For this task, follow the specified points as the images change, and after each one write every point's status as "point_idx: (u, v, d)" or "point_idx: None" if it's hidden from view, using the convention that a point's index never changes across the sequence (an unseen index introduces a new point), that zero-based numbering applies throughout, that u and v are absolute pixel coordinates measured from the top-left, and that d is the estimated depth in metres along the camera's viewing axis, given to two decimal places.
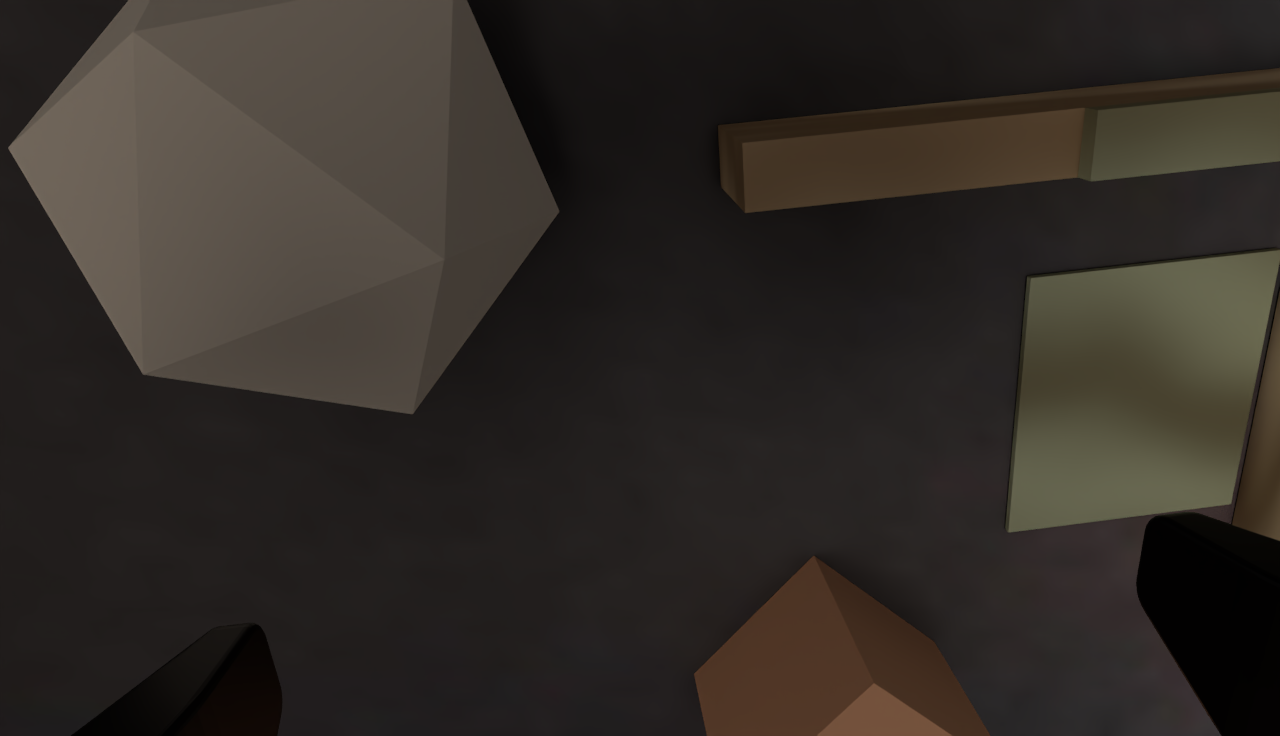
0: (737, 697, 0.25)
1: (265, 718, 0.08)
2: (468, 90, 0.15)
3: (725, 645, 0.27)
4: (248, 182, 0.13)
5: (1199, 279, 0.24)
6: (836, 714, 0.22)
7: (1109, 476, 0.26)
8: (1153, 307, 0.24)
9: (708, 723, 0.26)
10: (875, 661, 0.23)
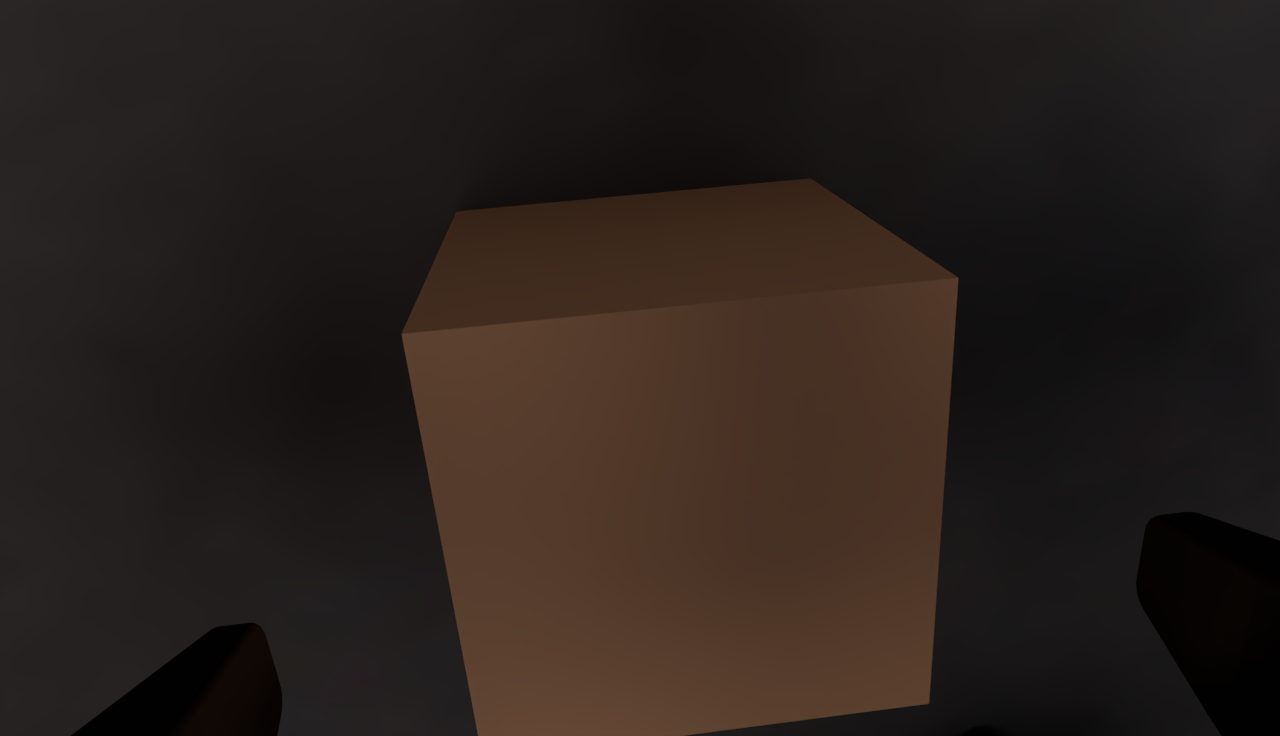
0: None
1: (265, 718, 0.08)
2: None
3: None
4: None
5: None
6: (425, 448, 0.09)
7: None
8: None
9: None
10: (478, 289, 0.10)
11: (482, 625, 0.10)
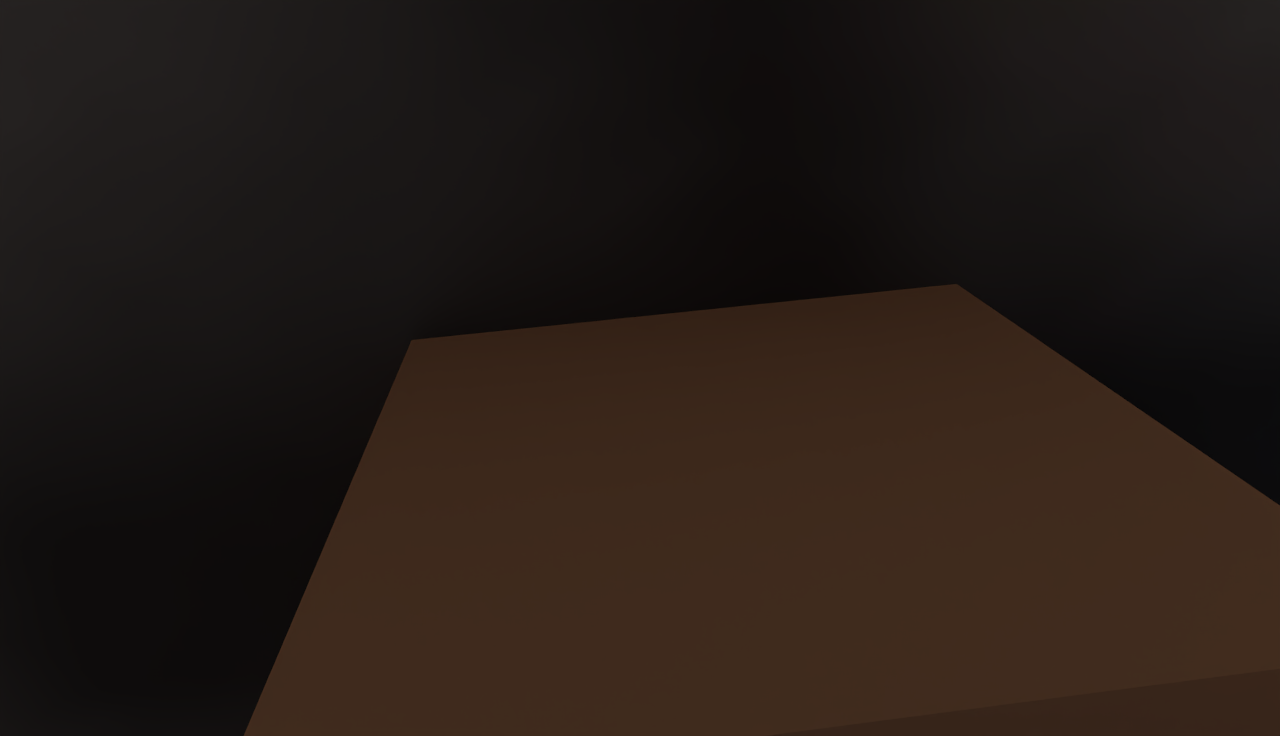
0: None
1: None
2: None
3: None
4: None
5: None
6: None
7: None
8: None
9: None
10: (416, 600, 0.05)
11: None
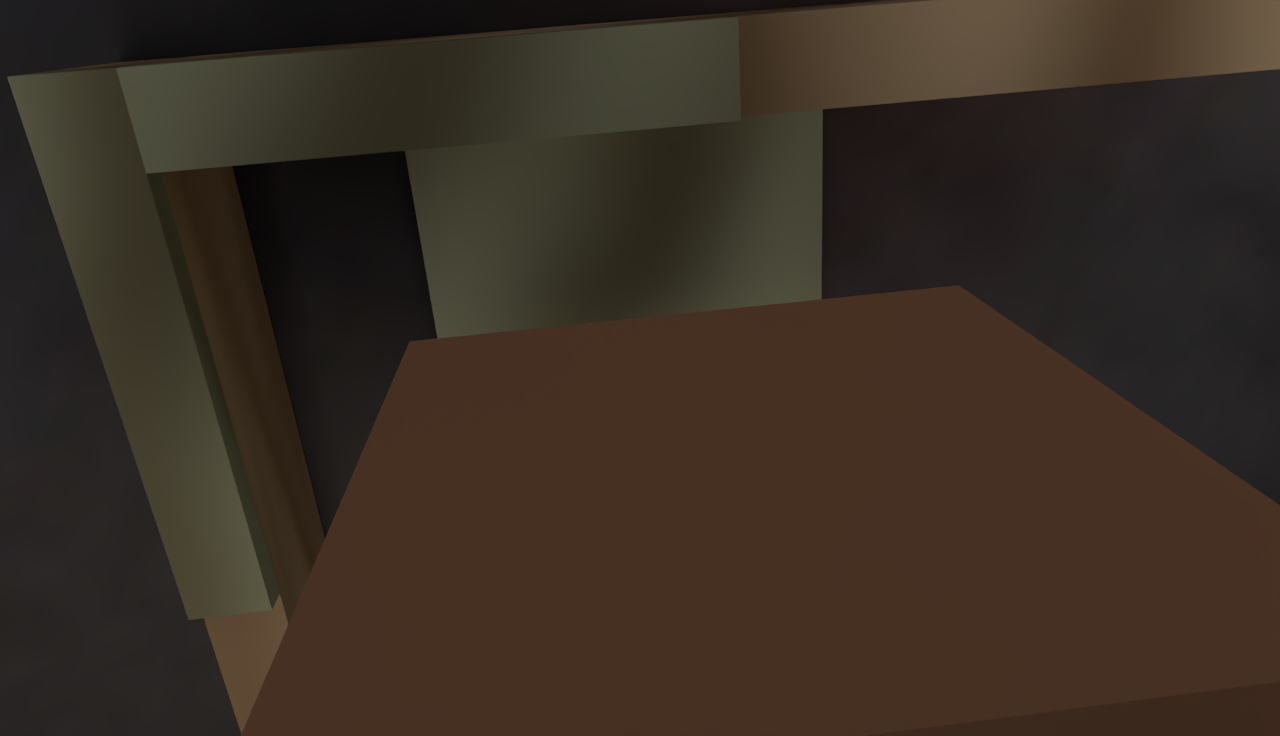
0: None
1: None
2: None
3: None
4: None
5: (453, 258, 0.17)
6: None
7: None
8: (495, 311, 0.18)
9: None
10: (412, 608, 0.05)
11: None
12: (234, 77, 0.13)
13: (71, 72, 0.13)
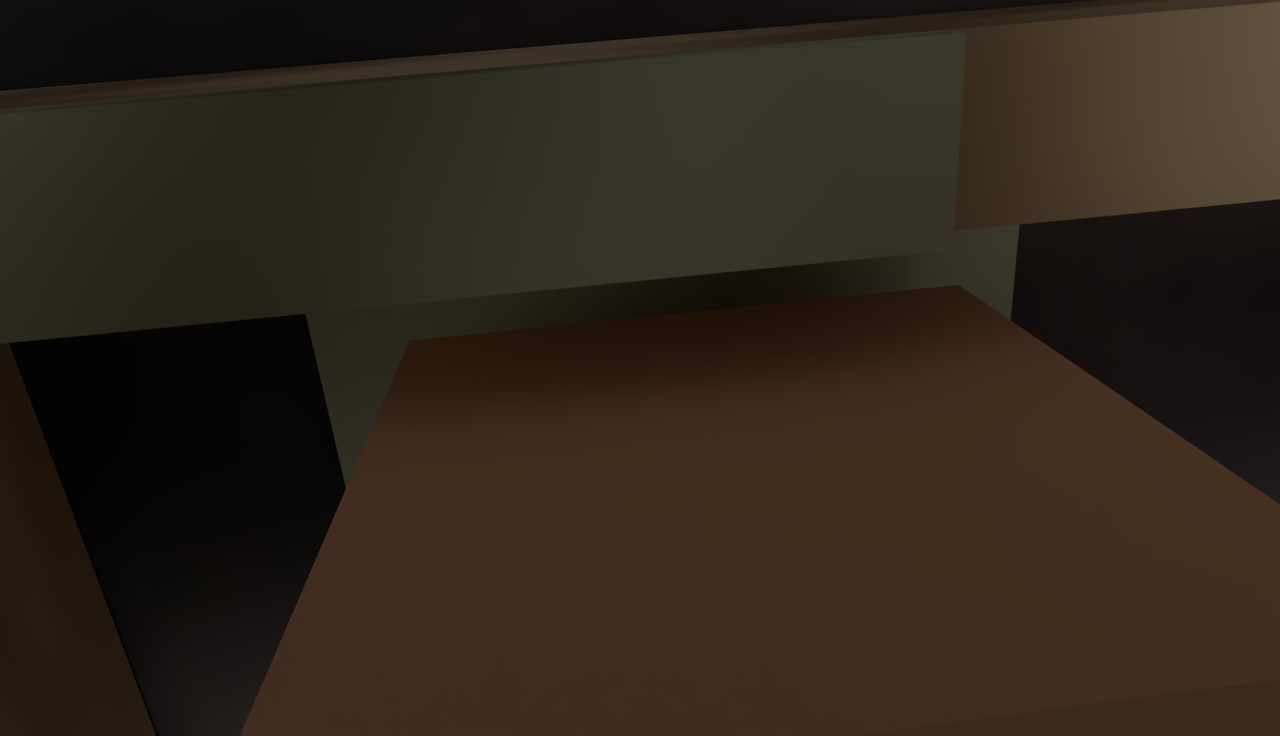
0: None
1: None
2: None
3: None
4: None
5: None
6: None
7: None
8: None
9: None
10: (412, 608, 0.05)
11: None
12: None
13: None
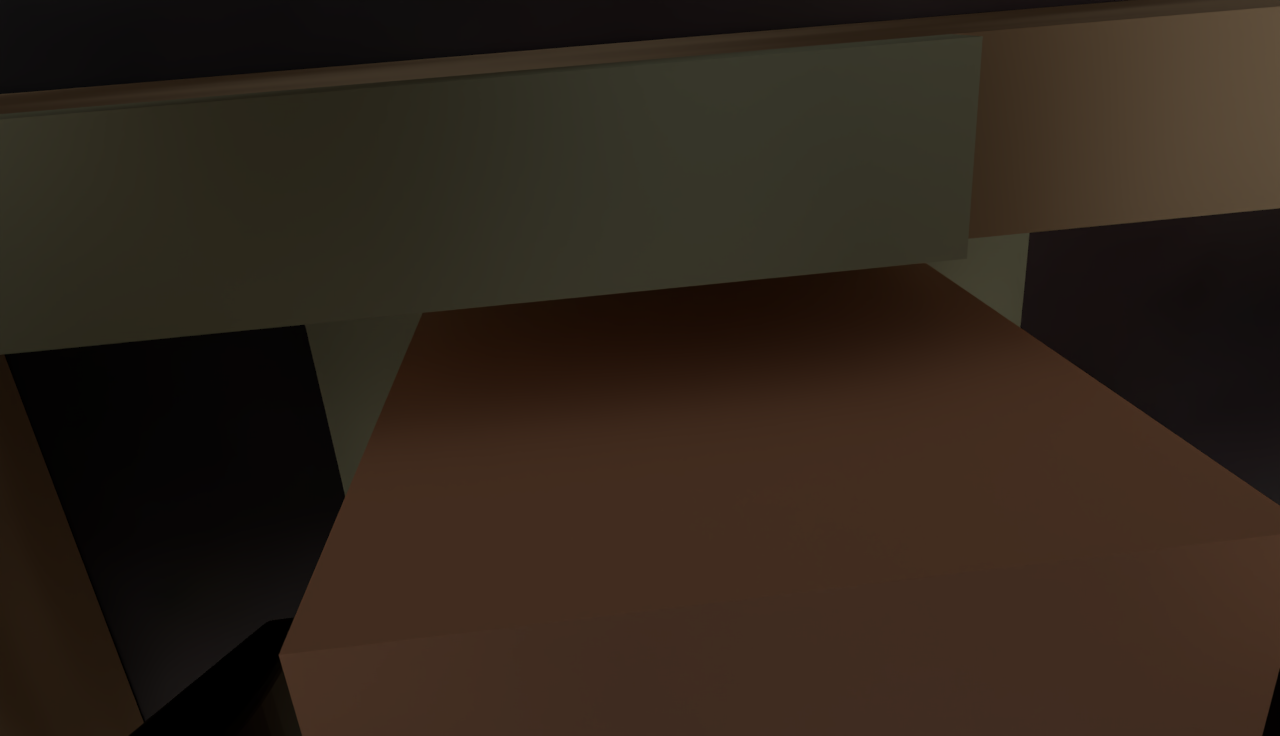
0: None
1: None
2: None
3: None
4: None
5: None
6: None
7: None
8: None
9: None
10: (437, 512, 0.06)
11: None
12: None
13: None
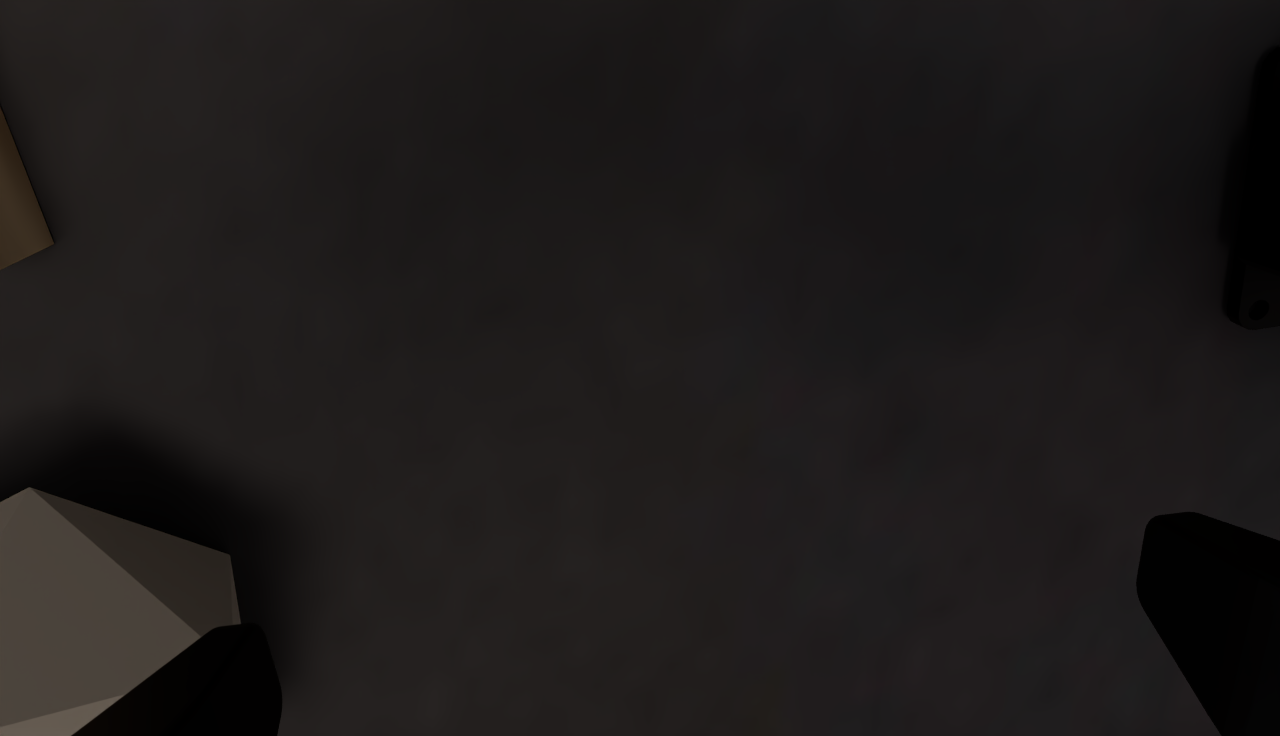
0: None
1: (265, 718, 0.08)
2: None
3: None
4: None
5: None
6: None
7: None
8: None
9: None
10: None
11: None
12: None
13: None
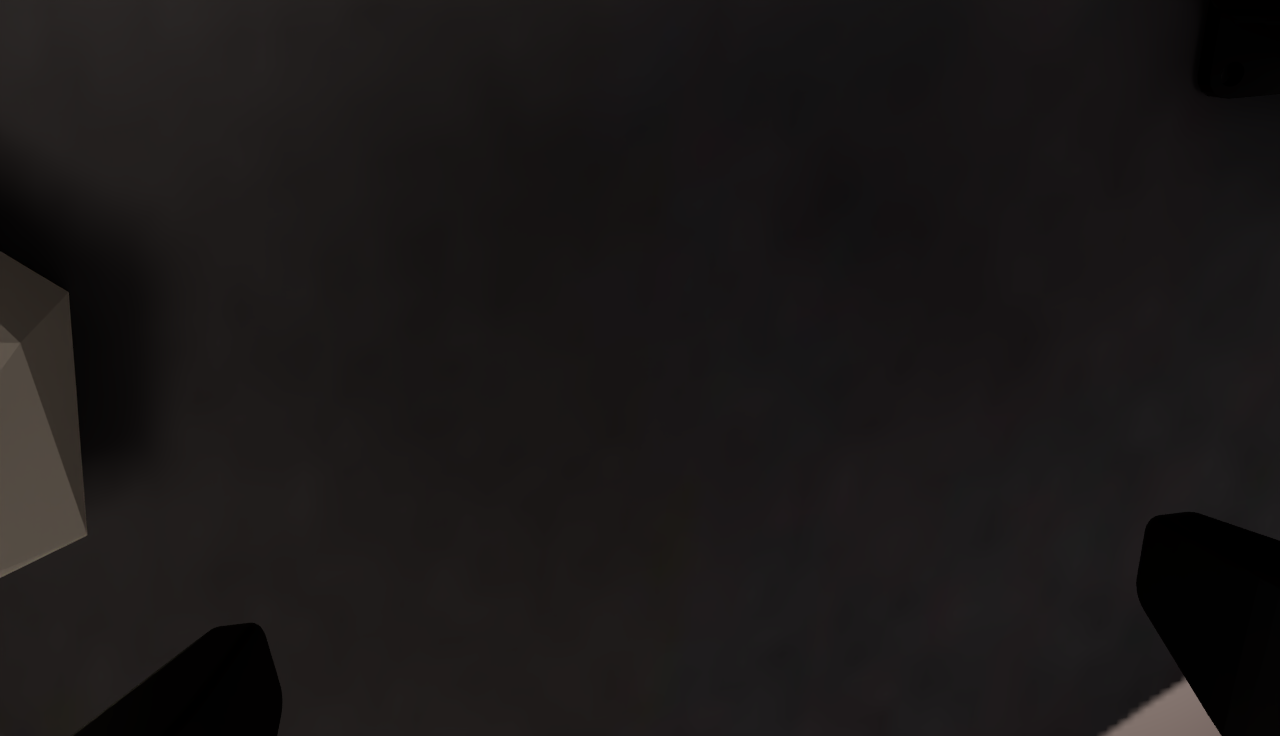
0: None
1: (265, 718, 0.08)
2: None
3: None
4: None
5: None
6: None
7: None
8: None
9: None
10: None
11: None
12: None
13: None
